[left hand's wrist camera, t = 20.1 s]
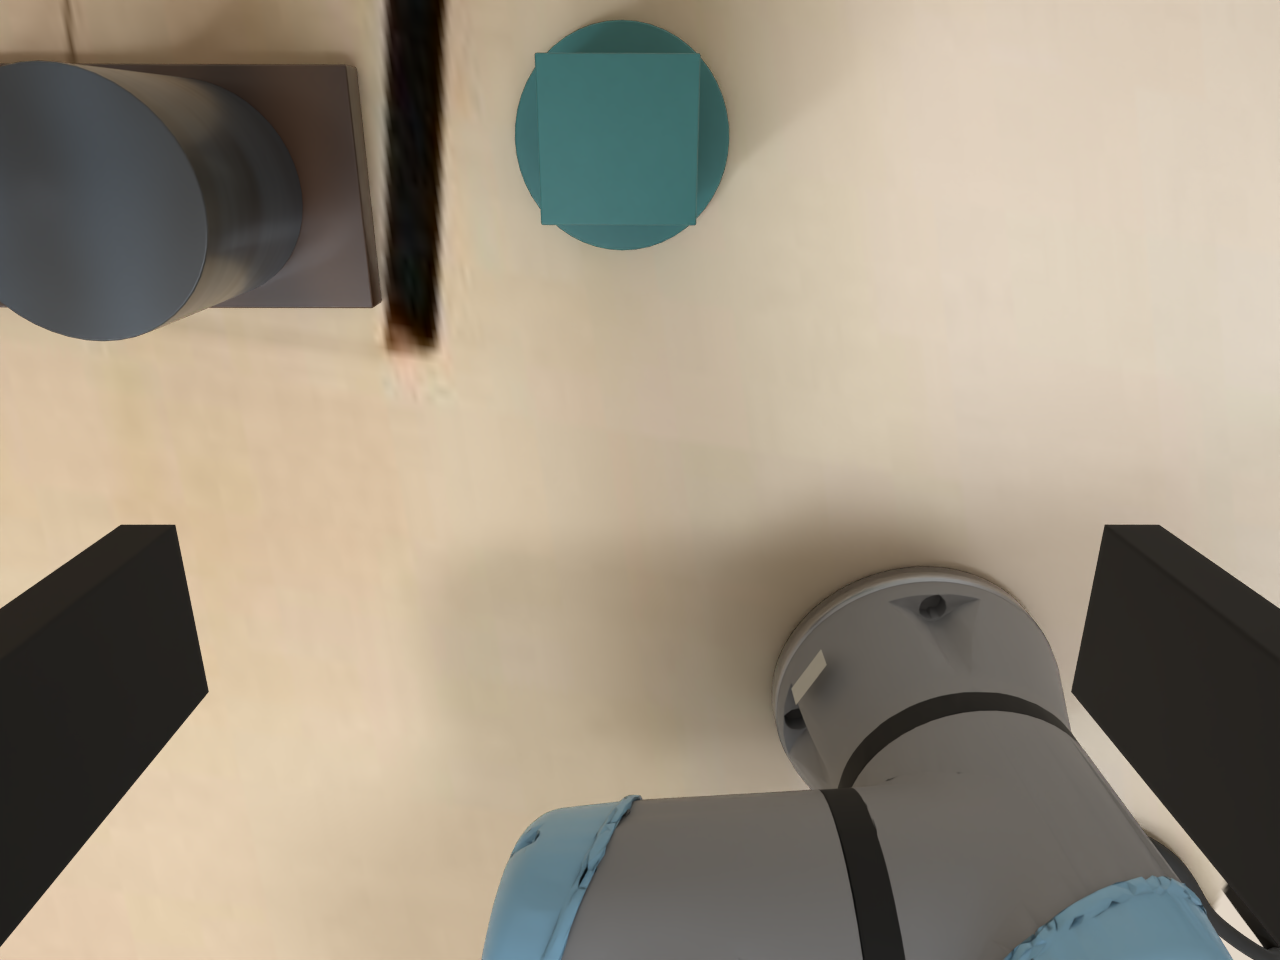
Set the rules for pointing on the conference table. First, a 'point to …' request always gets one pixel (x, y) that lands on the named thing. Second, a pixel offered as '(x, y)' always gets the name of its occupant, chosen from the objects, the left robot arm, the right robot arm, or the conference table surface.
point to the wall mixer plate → (180, 193)
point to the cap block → (621, 135)
